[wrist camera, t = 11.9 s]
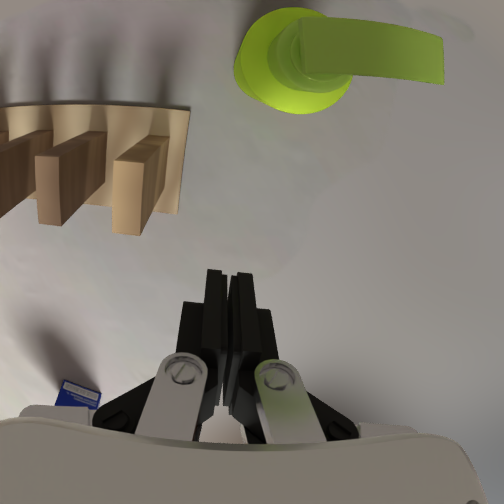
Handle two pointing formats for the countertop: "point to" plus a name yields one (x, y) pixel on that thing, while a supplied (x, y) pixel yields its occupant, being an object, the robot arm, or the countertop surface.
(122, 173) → the domino
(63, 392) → the milk carton
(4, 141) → the domino
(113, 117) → the runner
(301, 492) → the robot arm
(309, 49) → the soap dispenser
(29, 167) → the domino
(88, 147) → the domino
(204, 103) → the countertop surface
